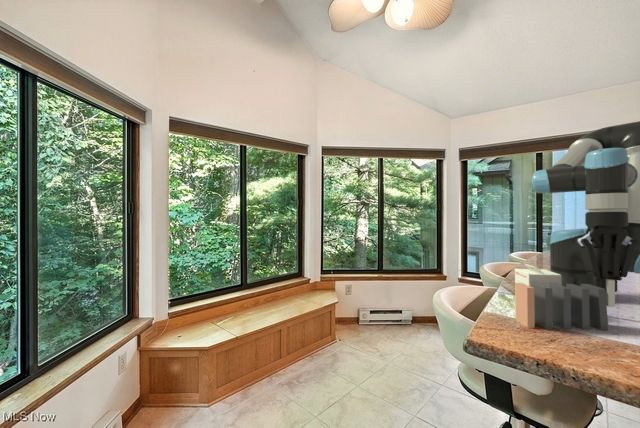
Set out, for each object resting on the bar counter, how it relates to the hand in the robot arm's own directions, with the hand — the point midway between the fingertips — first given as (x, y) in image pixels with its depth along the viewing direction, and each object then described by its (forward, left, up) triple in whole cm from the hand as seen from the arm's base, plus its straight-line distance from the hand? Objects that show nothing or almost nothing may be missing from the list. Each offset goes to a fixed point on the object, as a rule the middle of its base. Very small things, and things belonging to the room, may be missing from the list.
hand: (606, 304), depth 70 cm
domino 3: (+10, -4, -6) cm, 12 cm away
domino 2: (+14, -5, -6) cm, 16 cm away
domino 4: (+6, -2, -6) cm, 9 cm away
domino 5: (+2, -1, -6) cm, 6 cm away
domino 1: (+18, -7, -6) cm, 20 cm away
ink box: (+5, -13, -6) cm, 15 cm away
